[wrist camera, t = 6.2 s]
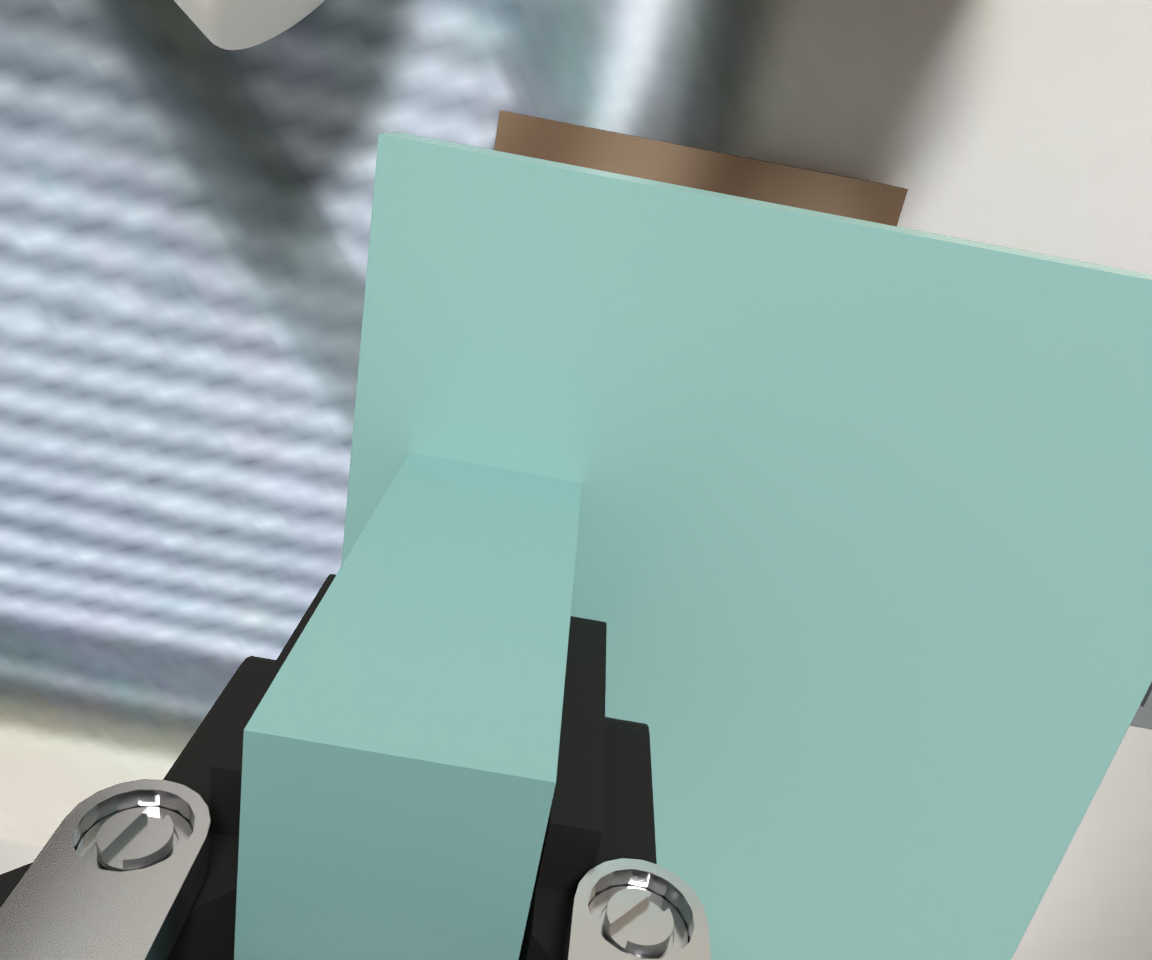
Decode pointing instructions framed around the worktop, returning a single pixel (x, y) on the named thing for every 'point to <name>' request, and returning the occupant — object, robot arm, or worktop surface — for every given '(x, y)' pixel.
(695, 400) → the lid
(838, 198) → the board
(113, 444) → the worktop surface
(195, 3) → the mug
